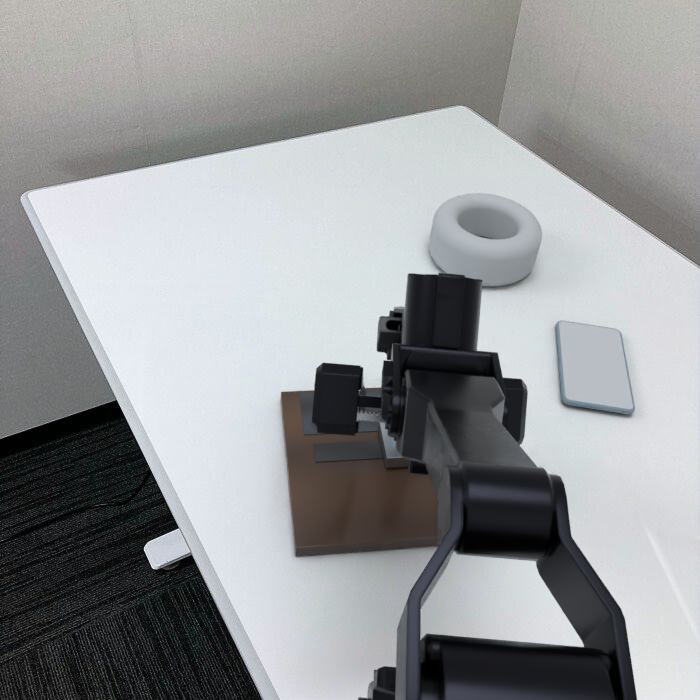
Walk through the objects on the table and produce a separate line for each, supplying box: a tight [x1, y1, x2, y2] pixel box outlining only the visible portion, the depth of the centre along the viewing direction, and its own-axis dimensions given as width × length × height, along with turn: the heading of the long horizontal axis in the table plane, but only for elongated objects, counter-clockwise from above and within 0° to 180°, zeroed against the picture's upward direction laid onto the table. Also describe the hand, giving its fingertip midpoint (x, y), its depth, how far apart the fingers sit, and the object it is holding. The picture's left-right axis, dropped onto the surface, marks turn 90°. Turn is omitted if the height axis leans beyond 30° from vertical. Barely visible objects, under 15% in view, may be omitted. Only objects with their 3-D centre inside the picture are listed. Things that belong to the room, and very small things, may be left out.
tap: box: [378, 306, 409, 468], centre depth 78 cm, size 11×4×13 cm, turn 8°
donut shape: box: [428, 192, 543, 287], centre depth 107 cm, size 15×15×7 cm
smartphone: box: [555, 320, 636, 415], centre depth 94 cm, size 8×1×15 cm
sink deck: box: [280, 387, 438, 558], centre depth 80 cm, size 20×20×2 cm
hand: (409, 402), depth 77 cm, fingers open, 9 cm apart
